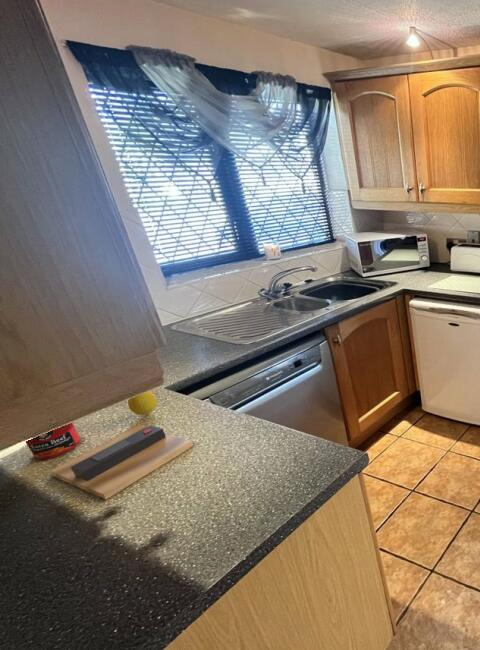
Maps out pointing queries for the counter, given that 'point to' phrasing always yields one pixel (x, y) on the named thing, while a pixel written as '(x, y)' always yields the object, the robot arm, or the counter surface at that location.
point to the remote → (117, 453)
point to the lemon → (143, 403)
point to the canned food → (54, 442)
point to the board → (123, 464)
